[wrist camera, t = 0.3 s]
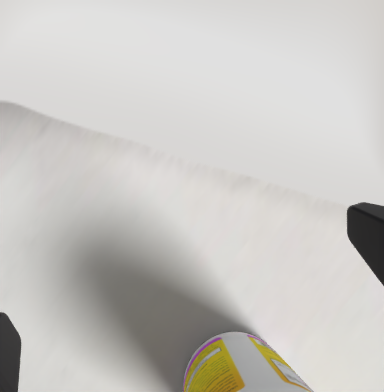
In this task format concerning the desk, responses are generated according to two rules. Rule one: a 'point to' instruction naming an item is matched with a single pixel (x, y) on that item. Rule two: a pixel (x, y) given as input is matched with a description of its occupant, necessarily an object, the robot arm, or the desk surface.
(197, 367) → the supplement bottle
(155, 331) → the desk surface
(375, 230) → the robot arm
